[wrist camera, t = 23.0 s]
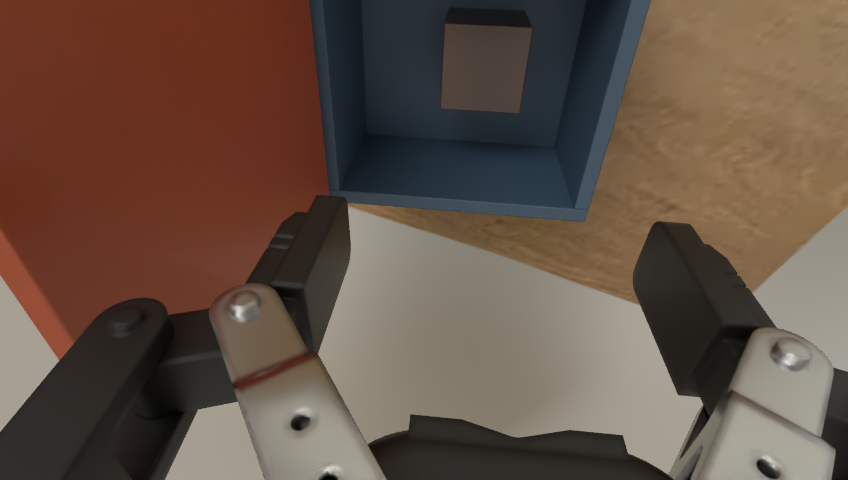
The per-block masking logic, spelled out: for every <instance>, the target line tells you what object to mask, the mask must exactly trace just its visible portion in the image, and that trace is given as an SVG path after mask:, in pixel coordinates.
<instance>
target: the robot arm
mask: <svg viewBox="0 0 848 480" xmlns="http://www.w3.org/2000/svg"><path fill="white" fill-rule="evenodd" d="M350 245H351V243H350V230H349V218H348V205H347V200H346V198H345V197H339V196H326V195H317V196H316V197H315V199H314V201H313V202H312V204H311V206H310V208H309V210H308V212H307V213H306V212H295V213H294V214H293V215H291V216H290V217H288V218H287V219H286V220H284V221H283V222H282V223H281V225H280V226H279V228H278V230H277V231H276V233H275V235H274V237H273V238H272V240H271V241H270V243H269V245H268V248H266V250H265V251H264V253H263V254H262V256H261V258H260V259H259V261H258V263H257V264H256V266H255V268H254V269H253V271H252V273H251V274H250V276H249V278H248V279H247V281H246V283H245V284H242V285H239V286H235V287H233V288H230V289H229V290H227V291H225V292H223V293H222V294H221V295H219V296H218V297H217V298H216V299H215V300H214V302H213V303H212V305H211V307H210V308H207V309H202V310H196V311H190V312H183V313H176V314H170V315H169V314H168V312H167V309H166V307H165V306H164V304H163V303H161V302H160V301H158V300H156V299H152V298H135V299H130V300H126V301H123V302H120V303H118V304H115V305H113V306H111V307H109V308H108V309H106V310H105V311H103V312H102V313H100V314H99V315H98V316H97V317H96V318H95V319H94V320H93V321H92V322H91V323H90V325H89V326H88V327H87V328H86V329H85V331H84V332H83V333H82V334H81V335H80V337H79V338H78V339H77V340H76V341H75V343H74V344H73V345H72V346H71V347H70V349H69V350H68V351H67V352H66V354H65V355H64V356H63V357H62V358H61V360H60V361H59V362H58V363H57V364H56V366H55V367H54V368H53V369H52V370H51V372H50V373H49V374H48V375H47V376H46V378H45V379H44V380H43V381H42V382H41V384H40V385H39V386H38V387H37V389H36V390H35V391H34V392H33V393H32V394H31V396H30V397H29V398H28V399H27V400H26V402H25V403H24V404H23V405H22V407H21V408H20V409H19V410H18V411H17V413H16V414H15V415H14V416H13V417H12V419H11V420H10V421H9V422H8V423H7V425H6V426H5V427H4V428H3V430H2V431H1V432H0V480H165V478H166V476H167V473H168V471H169V469H170V467H171V465H172V463H173V461H174V459H175V457H176V455H177V453H178V450H179V448H180V446H181V444H182V442H183V440H184V438H185V436H186V434H187V432H188V429H189V427H190V425H191V423H192V421H193V419H194V417H195V415H196V412H197V411H198V409H202V408H207V407H212V406H217V405H222V404H228V403H233V402H238V403H239V406H240V409H241V412H242V414H243V417H244V420H245V423H246V426H247V429H248V432H249V435H250V438H251V441H252V444H253V447H254V449H255V452H256V455H257V458H258V461H259V464H260V467H261V470H262V472H263V476H264V479H265V480H848V372H846V371H843V370H839V369H836V368H833V366H832V364H831V362H830V360H829V359H828V357H827V356H826V355H825V354H824V353H823V352H822V351H821V350H820V349H819V348H817V347H816V346H815V345H814V344H812V343H811V342H809V341H808V340H806V339H804V338H803V337H801V336H798V335H796V334H794V333H792V332H789V331H786V330H782V329H778V328H777V327H776V326H775V325H774V323H773V322H772V320H771V319H770V318H769V316H768V315H767V314H766V312H765V311H764V309H763V308H762V307H761V305H760V304H759V302H758V301H757V300H756V298H755V297H754V296H753V294H752V293H751V291H750V290H749V289H748V288H746V284H745V283H744V282H743V280H742V279H741V277H740V276H737V272H736V271H735V269H734V268H733V266H732V265H731V264H730V262H729V261H728V259H727V258H726V257H724V256H723V255H722V254H720V253H719V252H718V251H717V250H715V249H714V248H713V247H711V246H710V245H707V244H704V243H703V242H702V240H701V239H700V237H699V236H698V234H697V233H696V231H695V230H694V229H693V227H692V226H691V225H690V224H686V223H672V222H656V223H654V224H653V226H652V227H651V229H650V232H649V234H648V237H647V239H646V241H645V244H644V246H643V249H642V251H641V254H640V256H639V259H638V261H637V264H636V266H635V269H634V274H633V287H634V291H635V293H636V296H637V298H638V300H639V303H640V305H641V308H642V310H643V312H644V315H645V317H646V319H647V322H648V324H649V327H650V329H651V331H652V334H653V336H654V338H655V341H656V343H657V345H658V348H659V350H660V353H661V355H662V357H663V360H664V362H665V365H666V367H667V369H668V372H669V374H670V377H671V379H672V381H673V384H674V386H675V388H676V391H677V393H678V395H684V396H695V397H700V398H701V400H702V402H703V406H702V407H701V408H700V410H699V411H698V413H697V415H696V417H695V420H694V421H693V424H692V426H691V428H690V430H689V432H688V435H687V436H686V439H685V441H684V443H683V445H682V447H681V449H680V452H679V454H678V456H677V458H676V460H675V462H674V465H673V467H672V469H671V471H670V472H669V474H668V475H667V474H666V473H664V472H663V471H662V470H660V469H658V468H657V467H655V466H653V465H651V464H650V463H648V462H646V461H644V460H642V459H640V458H637V457H635V456H633V455H630V454H628V453H627V449H626V445H625V442H624V438H623V436H622V435H614V434H603V433H593V432H583V431H572V430H567V431H562V432H554V433H548V434H542V435H535V436H529V437H522V438H516V437H511V436H508V435H505V434H502V433H499V432H497V431H494V430H491V429H488V428H485V427H482V426H479V425H476V424H473V423H471V422H467V421H465V420H462V419H452V418H441V417H430V416H420V415H410V424H409V430H407V431H402V432H397V433H393V434H390V435H387V436H384V437H382V438H379V439H377V440H374V441H373V442H371V443H369V444H367V443H366V441H365V439H364V437H363V435H362V434H361V432H360V430H359V428H358V426H357V425H356V423H355V421H354V419H353V417H352V416H351V414H350V412H349V410H348V408H347V406H346V405H345V403H344V401H343V399H342V397H341V395H340V394H339V392H338V390H337V388H336V386H335V384H334V383H333V381H332V379H331V377H330V375H329V374H328V372H327V370H326V368H325V366H324V364H323V363H322V361H321V359H320V357H319V356H318V352H319V349H320V346H321V343H322V340H323V337H324V334H325V331H326V328H327V326H328V323H329V320H330V317H331V314H332V311H333V308H334V305H335V302H336V299H337V297H338V294H339V291H340V288H341V285H342V282H343V279H344V276H345V274H346V271H347V268H348V264H349V260H350V249H351V246H350Z"/></svg>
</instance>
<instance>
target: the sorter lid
mask: <svg viewBox="0 0 848 480" xmlns="http://www.w3.org/2000/svg"><path fill="white" fill-rule="evenodd" d="M317 195H326V196H330V195H329V185H328V176H327V166H326V156H325V147H324V137H323V128H322V118H321V108H320V99H319V89H318V80H317V70H316V60H315V51H314V41H313V32H312V22H311V12H310V3H309V0H0V275H1V277H2V278H3V280H4V281H5V282H6V284H7V285H8V287H9V288H10V290H11V291H12V293H13V294H14V295H15V297H16V298H17V300H18V301H19V303H20V304H21V306H22V307H23V308H24V310H25V311H26V313H27V314H28V316H29V317H30V319H31V320H32V321H33V323H34V324H35V325H36V327H37V329H38V330H39V332H40V333H41V335H42V336H43V337H44V339H45V340H46V342H47V343H48V345H49V346H50V348H51V349H52V351H53V352H54V353H55V355H56V356H57V358H58V359H59V361H60V360H61V358H62V357H63V356H64V355H65V354H66V352H67V351H68V350H69V349H70V347H71V346H72V345H73V344H74V343H75V341H76V340H77V339H78V338H79V337H80V335H81V334H82V333H83V332H84V331H85V329H86V328H87V327H88V326H89V325H90V323H91V322H92V321H93V320H94V319H95V318H96V317H97V316H98V315H99V314H100V313H102V312H103V311H105V310H106V309H108V308H109V307H111V306H113V305H115V304H118V303H120V302H123V301H126V300H130V299H135V298H152V299H156V300H158V301H160V302H161V303H163V304H164V306H165V307H166V309H167V312H168V314H169V315H170V314H176V313H183V312H190V311H196V310H202V309H207V308H210V307H211V305H212V303H213V302H214V300H215V299H216V298H217V297H218V296H219V295H221V294H222V293H223V292H225V291H227V290H229V289H230V288H233V287H235V286H239V285H242V284H245V283H246V281H247V279H248V278H249V276H250V274H251V273H252V271H253V269H254V268H255V266H256V264H257V263H258V261H259V259H260V258H261V256H262V254H263V253H264V251H265V250H266V248H268V245H269V243H270V241H271V240H272V238H273V237H274V235H275V233H276V231H277V230H278V228H279V226H280V225H281V223H282V222H283V221H284V220H286V219H287V218H288V217H290V216H291V215H293V214H294V213H295V212H306V213H307V212H308V210H309V208H310V206H311V204H312V202H313V201H314V199H315V197H316V196H317Z"/></svg>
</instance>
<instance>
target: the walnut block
mask: <svg viewBox="0 0 848 480" xmlns="http://www.w3.org/2000/svg"><path fill="white" fill-rule="evenodd" d="M532 32H533V27H532V25H531V22H530V20H529V18H528V16H527V14H526V11H512V10H491V9H469V8H449V9H448V12H447V16H446V19H445V23H444V37H443V58H442V79H441V100H440V109H449V110H466V111H482V112H499V113H516V114H519V113H520V109H521V103H522V96H523V90H524V83H525V77H526V71H527V64H528V58H529V52H530V45H531V39H532Z"/></svg>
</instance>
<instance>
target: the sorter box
mask: <svg viewBox="0 0 848 480" xmlns="http://www.w3.org/2000/svg"><path fill="white" fill-rule="evenodd" d="M650 1H651V0H309V3H310V12H311V22H312V32H313V41H314V51H315V60H316V70H317V80H318V89H319V99H320V108H321V118H322V128H323V137H324V147H325V156H326V166H327V176H328V185H329V195H330V196H339V197H345V198H346V200H347V203H358V204H370V205H382V206H395V207H407V208H420V209H432V210H445V211H457V212H470V213H482V214H495V215H507V216H519V217H532V218H544V219H557V220H569V221H582V222H585V220H586V216H587V213H588V209H589V206H590V203H591V200H592V196H593V193H594V189H595V186H596V183H597V179H598V176H599V173H600V169H601V166H602V163H603V159H604V156H605V152H606V149H607V146H608V142H609V139H610V136H611V132H612V129H613V126H614V122H615V119H616V116H617V112H618V109H619V105H620V102H621V99H622V95H623V92H624V89H625V85H626V82H627V79H628V75H629V72H630V68H631V65H632V62H633V58H634V55H635V52H636V48H637V45H638V42H639V38H640V35H641V31H642V28H643V25H644V21H645V18H646V15H647V11H648V8H649V5H650ZM449 8H469V9H491V10H512V11H526V14H527V16H528V18H529V20H530V22H531V25H532V27H533V32H532V39H531V45H530V52H529V58H528V64H527V71H526V77H525V83H524V90H523V96H522V103H521V109H520V113H519V114H516V113H499V112H482V111H466V110H449V109H440V100H441V79H442V58H443V37H444V23H445V19H446V16H447V12H448V9H449Z"/></svg>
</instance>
